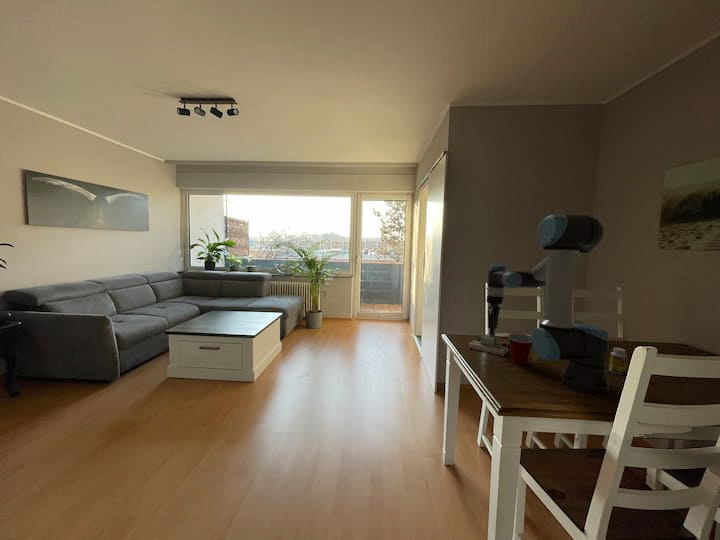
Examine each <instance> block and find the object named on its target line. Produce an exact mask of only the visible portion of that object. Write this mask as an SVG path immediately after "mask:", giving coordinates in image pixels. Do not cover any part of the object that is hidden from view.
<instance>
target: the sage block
mask: <svg viewBox="0 0 720 540" xmlns="http://www.w3.org/2000/svg"><path fill="white" fill-rule="evenodd" d="M482 335H483V334H482ZM497 338H498V336H497V335H495V336H492V335H489V334H486V333H485V334H484V335H483V336H482V337H481V345H484V346H488V347H494V346H495V345H497Z"/></svg>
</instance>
